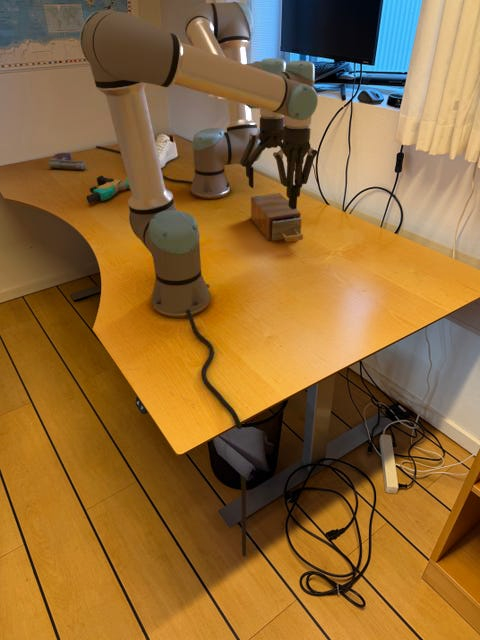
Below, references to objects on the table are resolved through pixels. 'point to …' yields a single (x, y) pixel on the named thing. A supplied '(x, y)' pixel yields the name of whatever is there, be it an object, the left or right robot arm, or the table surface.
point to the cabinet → (270, 211)
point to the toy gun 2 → (106, 189)
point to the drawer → (286, 229)
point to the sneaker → (166, 148)
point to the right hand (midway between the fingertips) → (270, 184)
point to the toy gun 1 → (66, 162)
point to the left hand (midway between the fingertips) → (292, 207)
